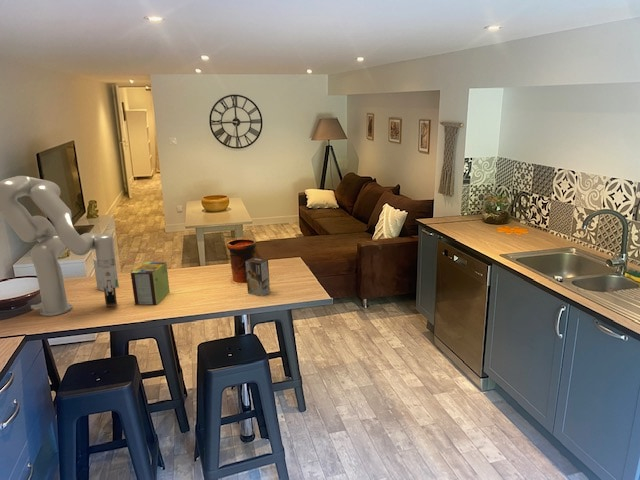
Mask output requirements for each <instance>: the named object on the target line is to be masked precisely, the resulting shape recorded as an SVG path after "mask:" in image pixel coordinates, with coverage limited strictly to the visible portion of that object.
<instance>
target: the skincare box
mask: <svg viewBox="0 0 640 480" xmlns="http://www.w3.org/2000/svg"><path fill="white" fill-rule="evenodd" d="M93 268H94V274H95V280H96V288H97V290H100V291H101V292H104V285H103V280H102V275H101V268H99V267H97V260H96V258H93ZM114 271H115V279H116V288H115V289H117V288H119V287H120V286H119V277H118V271H117V264H116V265H115V266H114Z"/></svg>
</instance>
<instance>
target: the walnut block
mask: <svg viewBox="0 0 640 480" xmlns="http://www.w3.org/2000/svg"><path fill="white" fill-rule="evenodd" d="M107 288H108V287H107ZM111 288H112V287H111ZM111 290H112V289H111ZM103 292H104V301H105V307H110V306H118V301H117V291H116V288H113V293H114V296H115V303H111V304H107V297H106V295H107V292H106V289H104V291H103Z"/></svg>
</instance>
